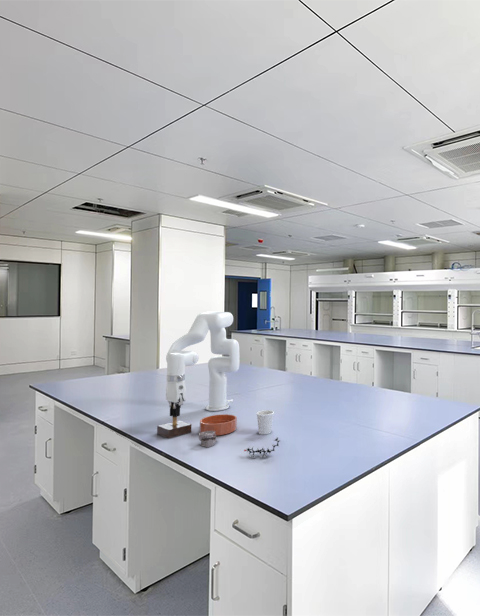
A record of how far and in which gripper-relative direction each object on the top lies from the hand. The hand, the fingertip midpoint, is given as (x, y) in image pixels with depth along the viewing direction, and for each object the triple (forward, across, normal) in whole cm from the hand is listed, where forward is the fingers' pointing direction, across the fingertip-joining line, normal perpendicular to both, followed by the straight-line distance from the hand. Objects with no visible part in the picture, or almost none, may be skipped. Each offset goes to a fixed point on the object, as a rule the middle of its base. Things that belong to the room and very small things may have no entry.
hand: (174, 415), depth 182 cm
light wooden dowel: (+9, 0, 0) cm, 9 cm away
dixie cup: (+9, -34, -26) cm, 44 cm away
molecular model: (+9, -57, -6) cm, 58 cm away
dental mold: (+9, -26, -1) cm, 27 cm away
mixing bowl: (+9, -14, -14) cm, 22 cm away
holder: (+9, 0, 0) cm, 9 cm away
